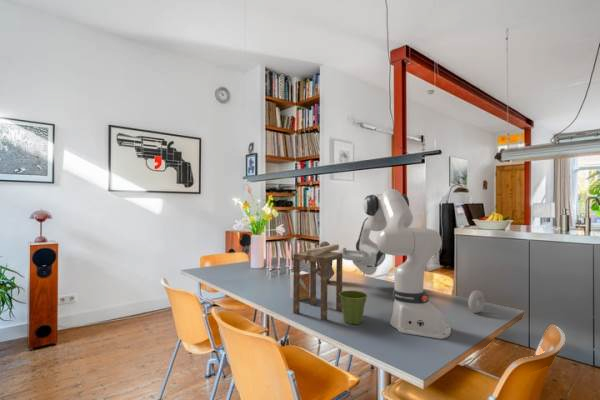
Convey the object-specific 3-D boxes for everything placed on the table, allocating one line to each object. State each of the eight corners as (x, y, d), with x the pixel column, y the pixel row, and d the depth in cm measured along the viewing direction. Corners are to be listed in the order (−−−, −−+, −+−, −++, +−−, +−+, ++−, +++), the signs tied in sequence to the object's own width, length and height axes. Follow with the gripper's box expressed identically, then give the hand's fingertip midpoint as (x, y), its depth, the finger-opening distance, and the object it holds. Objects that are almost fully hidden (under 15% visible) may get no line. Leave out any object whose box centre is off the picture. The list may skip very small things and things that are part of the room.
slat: (338, 249, 158) (338, 244, 158) (313, 256, 138) (313, 250, 138) (333, 249, 159) (333, 244, 159) (307, 255, 140) (307, 249, 140)
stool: (342, 310, 146) (342, 253, 147) (324, 320, 133) (325, 257, 133) (312, 303, 155) (312, 249, 156) (293, 313, 142) (293, 254, 142)
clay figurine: (326, 279, 206) (327, 240, 206) (338, 282, 199) (338, 241, 199) (312, 282, 198) (312, 241, 198) (323, 285, 190) (323, 243, 191)
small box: (296, 301, 159) (296, 274, 160) (289, 297, 165) (290, 272, 165) (309, 298, 164) (310, 273, 164) (302, 295, 169) (303, 270, 169)
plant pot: (362, 329, 124) (362, 300, 125) (334, 323, 130) (334, 295, 130) (371, 319, 135) (371, 292, 135) (344, 314, 141) (344, 288, 141)
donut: (474, 316, 140) (474, 293, 140) (466, 313, 143) (466, 291, 143) (486, 311, 146) (486, 289, 146) (478, 309, 149) (478, 288, 149)
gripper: (345, 252, 186) (335, 242, 176) (379, 256, 175) (371, 245, 165) (342, 262, 183) (332, 253, 174) (377, 267, 172) (368, 257, 162)
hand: (351, 249), depth 169 cm, fingers open, 8 cm apart
